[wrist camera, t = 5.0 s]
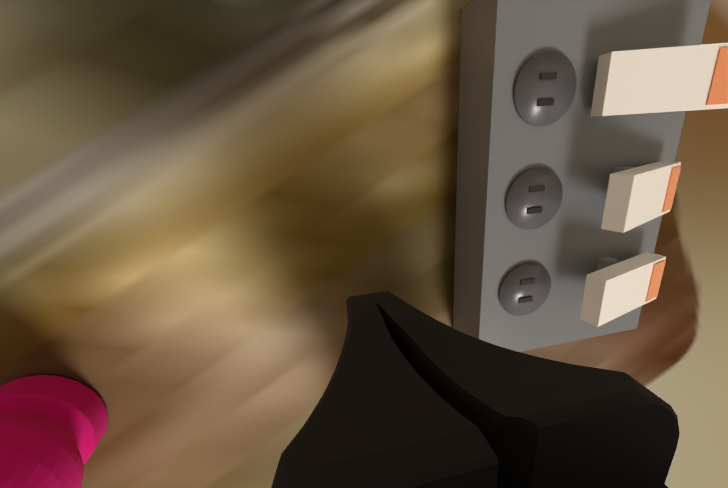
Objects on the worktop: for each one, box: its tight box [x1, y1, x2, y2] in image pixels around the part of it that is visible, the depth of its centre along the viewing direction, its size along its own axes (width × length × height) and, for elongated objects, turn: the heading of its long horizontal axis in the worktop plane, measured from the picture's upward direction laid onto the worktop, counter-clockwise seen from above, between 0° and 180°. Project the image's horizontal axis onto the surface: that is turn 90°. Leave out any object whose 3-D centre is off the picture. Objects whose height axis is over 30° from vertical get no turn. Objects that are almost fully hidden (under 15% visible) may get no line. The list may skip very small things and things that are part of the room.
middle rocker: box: [601, 161, 681, 233], centre depth 18 cm, size 3×6×1 cm, turn 93°
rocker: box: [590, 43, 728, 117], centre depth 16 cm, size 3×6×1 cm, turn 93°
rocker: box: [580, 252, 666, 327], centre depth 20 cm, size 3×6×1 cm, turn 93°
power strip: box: [453, 0, 711, 352], centre depth 21 cm, size 20×12×4 cm, turn 3°
